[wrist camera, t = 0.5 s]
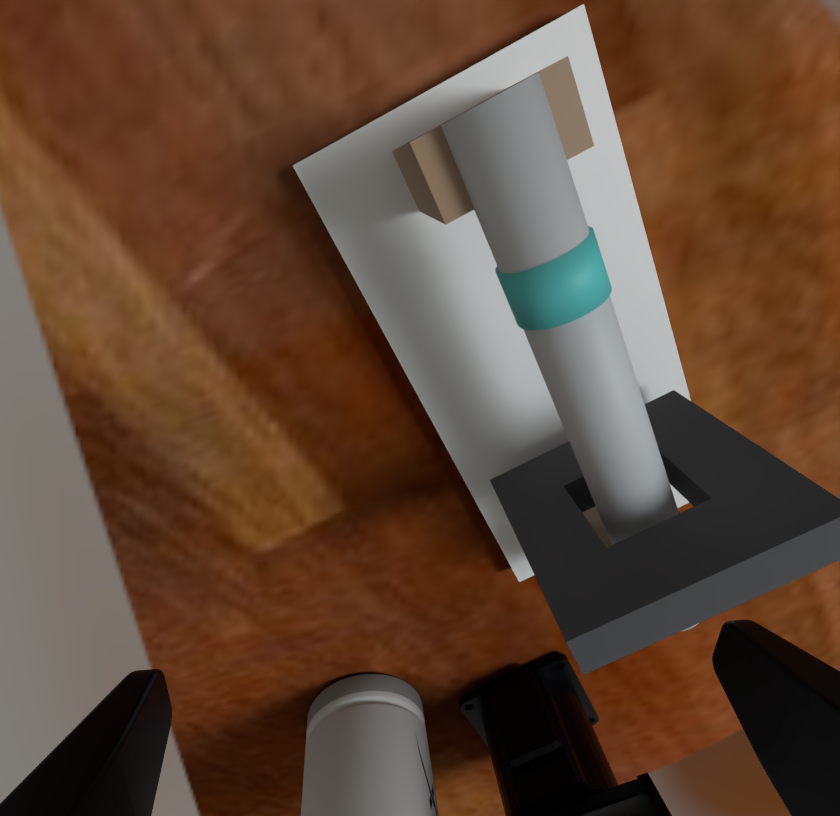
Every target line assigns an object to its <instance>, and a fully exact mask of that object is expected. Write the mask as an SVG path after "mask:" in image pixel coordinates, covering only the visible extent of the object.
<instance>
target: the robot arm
mask: <svg viewBox="0 0 840 816" xmlns="http://www.w3.org/2000/svg"><path fill="white" fill-rule="evenodd" d="M712 661H713V667H714V670H715V673H716V675H717V677H718V679H719V681H720V683H721V685H722V687H723V689H724V691H725V693H726V695H727V697H728V699H729V701H730V703H731V705H732V707H733V709H734V711H735V713H736V715H737V717H738V719H739V721H740V723H741V725H742V727H743V729H744V731H745V733H746V735H747V737H748V739H749V741H750V743H751V745H752V747H753V749H754V751H755V753H756V755H757V757H758V759H759V761H760V763H761V765H762V766H763V768H764V770H765V772H766V774H767V775H768V777H769V779H770V780H771V782H772V784H773V785H774V787H775V789H776V790H777V792H778V794H779V796H780V797H781V799H782V800H783V802H784V804H785V805H786V807H787V809H788V811H789V812H790V814H791V815H792V816H840V671H838V670H837V669H835V668H833V667H831V666H830V665H828V664H826V663H824V662H823V661H821V660H819V659H818V658H816V657H814V656H812V655H811V654H809V653H807V652H806V651H804V650H802V649H800V648H799V647H797V646H795V645H794V644H792V643H790V642H788V641H787V640H785V639H783V638H781V637H780V636H778V635H776V634H775V633H773V632H771V631H769V630H768V629H766V628H764V627H763V626H761V625H759V624H757V623H755V622H754V621H751V620H735V621H728V622H726V623H725V624H723V626H722V628H721V631H720V634H719V637H718V640H717V643H716V646H715V649H714V653H713V656H712ZM459 704H460V709H461V711H462V713H463V714H464V715H465V717H466V718H467V719H468V721H469V722H470V724H471V725H472V726H473V728H474V729H475V730H476V732H477V733H478V734H479V736H480V737H481V739H482V740H483V741H484V743H485V744H486V745H487V747H488V748H489V751H490V755H491V759H492V763H493V767H494V771H495V775H496V779H497V783H498V787H499V791H500V795H501V799H502V803H503V807H504V811H505V815H506V816H672V815H671V814H670V812H669V810H668V808H667V807H666V805H665V803H664V802H663V799H662V798H661V796H660V794H659V792H658V790H657V789H656V787H655V785H654V784H653V782H652V780H651V778H650V776H649V774H648V773H644V774H642V775H639V776H637V779H635V780H632V781H629V782H626V783H624V784H621V785H618V783H617V781H616V779H615V776H614V774H613V772H612V770H611V767H610V765H609V763H608V761H607V758H606V756H605V754H604V752H603V750H602V747H601V745H600V743H599V741H598V738H597V736H596V734H595V732H594V729H593V727H592V726H593V725H594V724H596V723H597V722H598V720H599V719H598V716H597V714H596V711H595V710H594V708H593V706H592V704H591V702H590V700H589V698H588V696H587V695H586V693H585V691H584V689H583V687H582V685H581V683H580V682H579V680H578V678H577V676H576V674H575V672H574V670H573V668H572V667H571V665H570V663H569V661H568V659H567V657H566V656H565V655H564V654H562V653H558V654H554V655H552V656H550V657H548V658H546V659H543V660H541V661H539V662H537V663H535V664H532V665H530V666H528V667H526V668H524V669H521V670H519V671H517V672H515V673H513V674H510V675H508V676H506V677H504V678H502V679H499V680H497V681H495V682H493V683H491V684H489V685H486V686H484V687H482V688H480V689H478V690H475V691H473V692H471V693H469V694H467V695H464V696H463V697H461V698H460V700H459ZM171 719H172V707H171V702H170V698H169V693H168V689H167V685H166V681H165V676H164V674H163V672H162V671H161V670H159V669H151V670H139V671H134V672H132V673H130V674H129V675H127V676H126V677H125V678H124V679H123V680H122V681H121V682H120V683H119V684H118V685H117V686H116V687H115V688H114V689H113V690H112V691H111V692H110V693H109V694H108V695H107V696H106V697H105V698H104V700H102V701H101V702H100V703H99V704H98V706H96V707H95V708H94V709H93V710H92V712H90V713H89V715H88V716H87V717H85V719H84V720H83V721H82V722H81V723H80V724H79V725H78V726H77V727H76V728H75V729H74V730H73V731H72V732H71V733H70V734H69V735H68V736H67V737H66V738H65V739H64V740H63V741H62V742H61V743H60V744H59V745H58V746H57V747H56V748H55V749H54V750H53V751H52V752H51V753H50V754H49V755H48V756H47V757H46V758H45V759H44V760H43V761H42V762H41V763H40V764H39V765H38V766H37V767H36V768H35V769H34V770H33V771H32V772H31V773H30V774H29V775H28V776H27V777H26V778H25V779H24V780H23V781H22V782H21V783H20V784H19V785H18V786H17V787H16V788H15V789H14V790H13V791H12V792H11V793H10V794H9V795H8V796H7V797H6V798H5V799H4V800H3V802H1V804H0V816H151V813H152V809H153V804H154V800H155V795H156V790H157V786H158V781H159V777H160V772H161V767H162V763H163V758H164V753H165V748H166V744H167V740H168V735H169V730H170V726H171Z"/></svg>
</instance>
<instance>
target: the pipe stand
mask: <svg viewBox="0 0 840 816" xmlns="http://www.w3.org/2000/svg"><path fill="white" fill-rule="evenodd" d="M293 168H294V169H295V171H296V173H297V175H298V177H299V179H300V180H301V182H302V184H303V186H304V188H305V190H306V191H307V193H308V195H309V197H310V199H311V201H312V202H313V204H314V206H315V208H316V210H317V212H318V214H319V215H320V217H321V219H322V221H323V223H324V225H325V226H326V228H327V230H328V232H329V234H330V236H331V237H332V239H333V241H334V243H335V245H336V247H337V248H338V250H339V252H340V254H341V256H342V258H343V259H344V261H345V263H346V265H347V267H348V269H349V270H350V272H351V274H352V276H353V278H354V280H355V281H356V283H357V285H358V287H359V289H360V291H361V292H362V294H363V296H364V298H365V300H366V302H367V304H368V305H369V307H370V309H371V311H372V313H373V315H374V316H375V318H376V320H377V322H378V324H379V326H380V327H381V329H382V331H383V333H384V335H385V337H386V338H387V340H388V342H389V344H390V346H391V348H392V349H393V351H394V353H395V355H396V357H397V359H398V360H399V362H400V364H401V366H402V368H403V370H404V371H405V373H406V375H407V377H408V379H409V381H410V382H411V384H412V386H413V388H414V390H415V392H416V393H417V395H418V397H419V399H420V401H421V403H422V405H423V406H424V408H425V410H426V412H427V414H428V416H429V417H430V419H431V421H432V423H433V425H434V427H435V428H436V430H437V432H438V434H439V436H440V438H441V439H442V441H443V443H444V445H445V447H446V449H447V450H448V452H449V454H450V456H451V458H452V460H453V461H454V463H455V465H456V467H457V469H458V471H459V472H460V474H461V476H462V478H463V480H464V482H465V483H466V485H467V487H468V489H469V491H470V493H471V495H472V496H473V498H474V500H475V502H476V504H477V506H478V507H479V509H480V511H481V513H482V515H483V517H484V518H485V520H486V522H487V524H488V526H489V528H490V529H491V531H492V533H493V535H494V537H495V539H496V540H497V542H498V544H499V546H500V548H501V550H502V551H503V553H504V555H505V557H506V559H507V561H508V562H509V564H510V566H511V568H512V570H513V572H514V573H515V575H516V577H517V579H518V581H519V582H521V581H523V580H525V579H527V578H529V577H531V576H533V575H534V573H533V571H532V569H531V566H530V564H529V562H528V560H527V558H526V556H525V554H524V552H523V549H522V547H521V545H520V543H519V541H518V539H517V537H516V535H515V533H514V530H513V528H512V526H511V524H510V522H509V520H508V518H507V516H506V513H505V511H504V509H503V507H502V505H501V503H500V501H499V499H498V497H497V494H496V492H495V490H494V488H493V486H492V484H491V482H490V479H492V478H494V477H496V476H499V475H501V474H503V473H505V472H507V471H509V470H511V469H513V468H515V467H517V466H519V465H521V464H523V463H525V462H527V461H529V460H531V459H533V458H535V457H538V456H540V455H542V454H544V453H546V452H548V451H550V450H552V449H554V448H556V447H558V446H560V445H562V444H564V443H566V442H568V441H569V442H570V444H571V447H572V449H573V452H574V454H575V457H576V459H577V461H578V464H579V466H580V469H581V471H582V474H583V476H584V479H585V481H586V483H587V486H588V488H589V491H590V493H591V496H592V498H593V500H594V503H595V505H596V506H595V507H593V508H591V509H589V510H587V511H585V512H582V513H583V515H584V516H585V517H586V519H587V520H588V522H589V523H590V525H591V526H592V527H593V529H594V530H595V532H596V533H597V535H598V536H599V538H600V539H601V540H602V542H603V543H604V545H605V546H606V548H607V547H609V546H611V545H613V544H615V543H617V542H620V541H622V540H624V539H626V538H628V537H630V536H632V535H634V534H637V533H639V532H641V531H643V530H645V529H647V528H649V527H652V526H654V525H656V524H658V523H660V522H662V521H664V520H667V519H669V518H671V517H673V516H675V515H677V514H679V513H680V512H679V511H678V507H681V506H683V505H685V504H687V503H689V501H688V500H686V499H685V498H684V497H683V496H682V495H681V494H680V493H679V492H678V491H677V490H676V489H675V488H674V487H673V486H672V485H671V484H670V483H669V480H668V477H667V474H666V470H665V467H664V464H663V461H662V458H661V455H660V452H659V448H658V445H657V442H656V439H655V436H654V433H653V429H652V426H651V423H650V420H649V417H648V414H647V411H646V407H645V404H646V403H648V402H650V401H652V400H654V399H656V398H659V397H661V396H663V395H665V394H667V393H669V392H671V391H673V390H674V391H676V392H678V393H679V394H681V395H682V396H684V397H685V398H687V399H688V400H690V401H691V399H690V396H689V392H688V388H687V385H686V381H685V377H684V373H683V370H682V366H681V362H680V359H679V355H678V351H677V347H676V344H675V340H674V336H673V333H672V329H671V325H670V321H669V318H668V314H667V310H666V307H665V303H664V299H663V295H662V292H661V288H660V284H659V281H658V277H657V273H656V269H655V266H654V262H653V258H652V255H651V251H650V247H649V243H648V240H647V236H646V232H645V229H644V225H643V221H642V217H641V214H640V210H639V206H638V203H637V199H636V195H635V192H634V188H633V184H632V180H631V177H630V173H629V169H628V166H627V162H626V158H625V154H624V151H623V147H622V143H621V140H620V136H619V132H618V128H617V125H616V121H615V117H614V114H613V110H612V106H611V102H610V99H609V95H608V91H607V88H606V84H605V80H604V76H603V73H602V69H601V65H600V62H599V58H598V54H597V50H596V47H595V43H594V39H593V36H592V32H591V28H590V24H589V21H588V17H587V13H586V10H585V6H584V4H583V5H581V6H579V7H577V8H576V9H574V10H572V11H570V12H568V13H567V14H565V15H563V16H561V17H559V18H558V19H556V20H554V21H552V22H550V23H549V24H547V25H545V26H543V27H541V28H540V29H538V30H536V31H534V32H532V33H531V34H529V35H527V36H525V37H523V38H522V39H520V40H518V41H516V42H514V43H513V44H511V45H509V46H507V47H505V48H504V49H502V50H500V51H498V52H496V53H495V54H493V55H491V56H489V57H487V58H486V59H484V60H482V61H480V62H478V63H477V64H475V65H473V66H471V67H469V68H468V69H466V70H464V71H462V72H460V73H459V74H457V75H455V76H453V77H451V78H450V79H448V80H446V81H444V82H442V83H441V84H439V85H437V86H435V87H433V88H432V89H430V90H428V91H426V92H424V93H423V94H421V95H419V96H417V97H415V98H414V99H412V100H410V101H408V102H406V103H405V104H403V105H401V106H399V107H397V108H396V109H394V110H392V111H390V112H388V113H387V114H385V115H383V116H381V117H379V118H378V119H376V120H374V121H372V122H370V123H368V124H367V125H365V126H363V127H361V128H359V129H358V130H356V131H354V132H352V133H350V134H349V135H347V136H345V137H343V138H341V139H340V140H338V141H336V142H334V143H332V144H331V145H329V146H327V147H325V148H323V149H322V150H320V151H318V152H316V153H314V154H313V155H311V156H309V157H307V158H305V159H304V160H302V161H300V162H298V163H296V164H295V165H293ZM698 624H699V623H698ZM696 625H697V624H696ZM696 625H693V626H691V627H689V628H687V629H685V630H688V629H691V628H693V627H695V626H696ZM685 630H682V631H685ZM680 632H681V631H680Z"/></svg>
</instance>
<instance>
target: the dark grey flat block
mask: <svg viewBox="0 0 840 816" xmlns="http://www.w3.org/2000/svg"><path fill="white" fill-rule="evenodd" d="M645 407H646V411H647V414H648V417H649V420H650V423H651V426H652V429H653V433H654V436H655V439H656V442H657V445H658V448H659V452H660V455H661V458H662V461H663V464H664V467H665V470H666V474H667V477H668V480H669V483H670V484H671V485H672V486H673V487H674V488H675V489H676V490H677V491H678V492H679V493H680V494H681V495H682V496H683V497H684V498H685V499H686V500H688V501H689V502H690V503H691V504H692V505H693V506H694V507H692V508H690V509H688V510H686V511H684V512H682V513H679V514H677V515H675V516H673V517H671V518H669V519H667V520H664V521H662V522H660V523H658V524H656V525H654V526H652V527H649V528H647V529H645V530H643V531H641V532H639V533H637V534H634V535H632V536H630V537H628V538H626V539H624V540H622V541H620V542H617V543H615V544H613V545H611V546H609V547H607V548H606V546H605V545H604V543H603V542H602V540H601V539H600V538H599V536H598V535H597V533H596V532H595V530H594V529H593V527H592V526H591V525H590V523H589V522H588V520H587V519H586V517H585V516H584V515H583V513H582V512H585V511H587V510H589V509H591V508H593V507H595V506H596V505H595V503H594V500H593V498H592V496H591V493H590V491H589V488H588V486H587V483H586V481H585V479H584V476H583V474H582V471H581V469H580V466H579V464H578V461H577V459H576V457H575V454H574V452H573V449H572V447H571V444H570V442H569V441H568V442H566V443H564V444H562V445H560V446H558V447H556V448H554V449H552V450H550V451H548V452H546V453H544V454H542V455H540V456H538V457H535V458H533V459H531V460H529V461H527V462H525V463H523V464H521V465H519V466H517V467H515V468H513V469H511V470H509V471H507V472H505V473H503V474H501V475H499V476H496V477H494V478H492V479H490V482H491V484H492V486H493V488H494V490H495V492H496V494H497V497H498V499H499V501H500V503H501V505H502V507H503V509H504V511H505V513H506V516H507V518H508V520H509V522H510V524H511V526H512V528H513V530H514V533H515V535H516V537H517V539H518V541H519V543H520V545H521V547H522V549H523V552H524V554H525V556H526V558H527V560H528V562H529V564H530V566H531V569H532V571H533V573H534V575H535V577H536V579H537V581H538V583H539V585H540V588H541V590H542V592H543V594H544V596H545V598H546V600H547V602H548V605H549V607H550V609H551V611H552V613H553V615H554V617H555V619H556V621H557V624H558V626H559V628H560V630H561V632H562V634H563V636H564V638H565V641H566V643H567V645H568V646H569V648H570V650H571V652H572V654H573V656H574V658H575V660H576V662H577V664H578V665H579V667H580V669H581V671H582V673H583V675H585V674H587V673H589V672H591V671H593V670H596V669H598V668H600V667H602V666H605V665H607V664H609V663H611V662H613V661H616V660H618V659H620V658H622V657H625V656H627V655H629V654H631V653H633V652H636V651H638V650H640V649H642V648H645V647H647V646H649V645H651V644H653V643H656V642H658V641H660V640H662V639H665V638H667V637H669V636H671V635H673V634H676V633H678V632H680V631H682V630H685V629H687V628H689V627H691V626H693V625H696V624H698V623H700V622H702V621H705V620H707V619H709V618H711V617H714V616H716V615H718V614H720V613H722V612H725V611H727V610H729V609H731V608H734V607H736V606H738V605H740V604H742V603H745V602H747V601H749V600H751V599H754V598H756V597H758V596H760V595H762V594H765V593H767V592H769V591H771V590H774V589H776V588H778V587H780V586H782V585H785V584H787V583H789V582H791V581H794V580H796V579H798V578H800V577H802V576H805V575H807V574H809V573H811V572H814V571H816V570H818V569H820V568H822V567H825V566H827V565H829V564H831V563H834V562H836V561H838V560H840V499H839V498H837V497H836V496H834V495H833V494H831V493H829V492H828V491H826V490H825V489H823V488H822V487H820V486H819V485H817V484H816V483H814V482H813V481H811V480H810V479H808V478H807V477H805V476H804V475H802V474H801V473H799V472H798V471H796V470H795V469H793V468H791V467H790V466H788V465H787V464H785V463H784V462H782V461H781V460H779V459H778V458H776V457H775V456H773V455H772V454H770V453H769V452H767V451H766V450H764V449H763V448H761V447H760V446H758V445H757V444H755V443H754V442H752V441H750V440H749V439H747V438H746V437H744V436H743V435H741V434H740V433H738V432H737V431H735V430H734V429H732V428H731V427H729V426H728V425H726V424H725V423H723V422H722V421H720V420H719V419H717V418H716V417H714V416H712V415H711V414H709V413H708V412H706V411H705V410H703V409H702V408H700V407H699V406H697V405H696V404H694V403H693V402H691V401H690V400H688V399H687V398H685V397H684V396H682V395H681V394H679V393H678V392H676V391H674V390H673V391H671V392H669V393H667V394H665V395H663V396H661V397H659V398H656V399H654V400H652V401H650V402H648V403H646V404H645Z"/></svg>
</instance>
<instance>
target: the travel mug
mask: <svg viewBox="0 0 840 816" xmlns="http://www.w3.org/2000/svg"><path fill="white" fill-rule="evenodd" d="M301 816H439V815H438V809H437V802H436V795H435V788H434V781H433V774H432V767H431V760H430V754H429V747H428V740H427V733H426V727H425V719H424V712H423V705H422V701H421V698H420V696H419V694H418V693H417V692H416V690H415V689H414V688H413V687H412V686H410V685H409V684H408V683H407V682H405V681H403V680H401V679H399V678H396V677H393V676H389V675H383V674H362V675H356V676H351V677H348V678H345V679H342V680H340V681H338V682H336V683H334V684H332V685H330V686H329V687H327V688H326V689H324V690H323V691H322V692H321V693H320V694H319V695H318V696H317V697H316V699H315V700H314V702H313V703H312V705H311V706H310V709H309V712H308V718H307V733H306V747H305V762H304V776H303V791H302V805H301Z"/></svg>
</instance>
